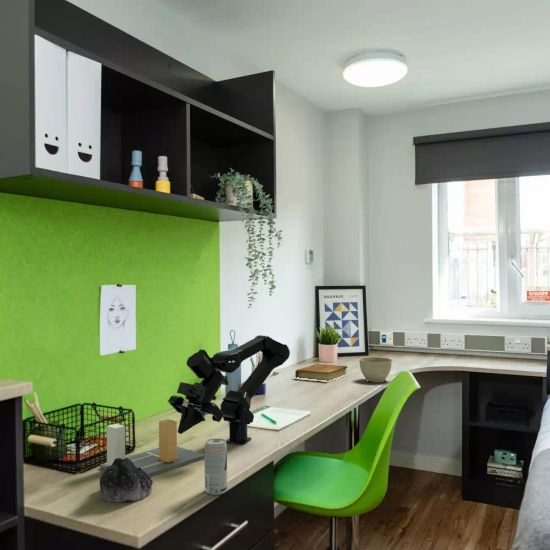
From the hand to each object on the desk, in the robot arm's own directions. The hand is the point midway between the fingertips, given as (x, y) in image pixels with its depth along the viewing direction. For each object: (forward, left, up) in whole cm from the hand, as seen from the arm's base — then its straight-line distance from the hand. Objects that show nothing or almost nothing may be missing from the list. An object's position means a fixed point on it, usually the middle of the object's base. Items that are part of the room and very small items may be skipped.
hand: (179, 432), depth 159 cm
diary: (-141, +2, -8) cm, 142 cm away
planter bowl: (-140, +30, -8) cm, 144 cm away
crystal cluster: (+26, 0, -8) cm, 27 cm away
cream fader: (+13, -12, -6) cm, 19 cm away
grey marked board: (+5, -5, -8) cm, 10 cm away
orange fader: (+4, -1, -6) cm, 8 cm away
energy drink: (+18, +20, -8) cm, 28 cm away
